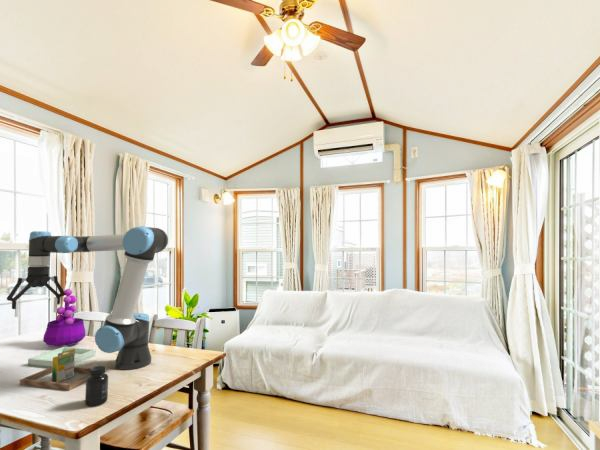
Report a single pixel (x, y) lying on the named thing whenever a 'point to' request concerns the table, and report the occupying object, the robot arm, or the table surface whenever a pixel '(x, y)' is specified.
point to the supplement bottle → (96, 387)
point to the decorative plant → (65, 325)
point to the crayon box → (63, 366)
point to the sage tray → (47, 358)
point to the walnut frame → (54, 385)
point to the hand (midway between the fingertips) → (36, 314)
